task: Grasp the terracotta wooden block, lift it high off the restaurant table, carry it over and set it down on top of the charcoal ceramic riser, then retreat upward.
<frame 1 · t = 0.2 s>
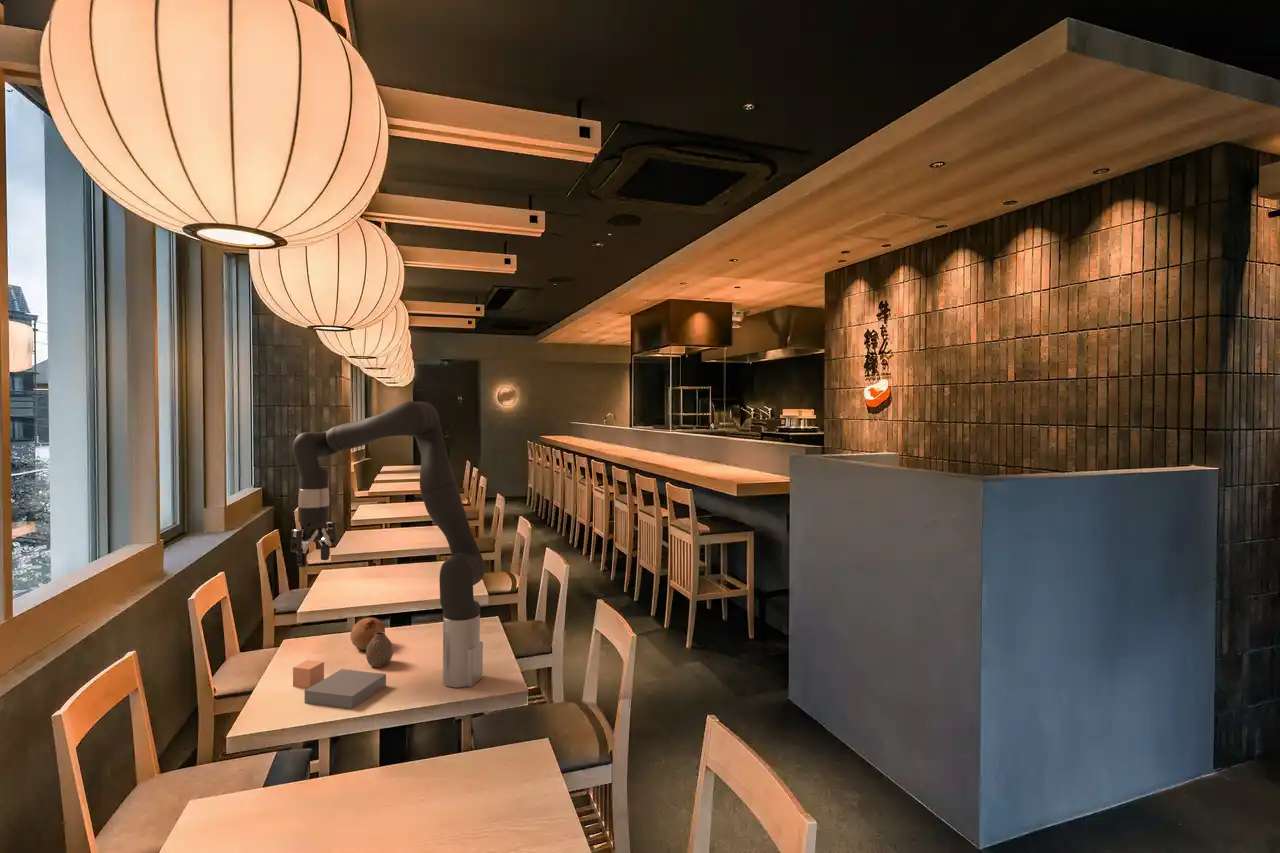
hand: (313, 563, 170), 28 cm above the table, fingers open, 8 cm apart
vase: (379, 665, 172), on the table
block: (308, 683, 159), on the table
riser: (346, 694, 153), on the table
brown round piece: (367, 648, 184), on the table
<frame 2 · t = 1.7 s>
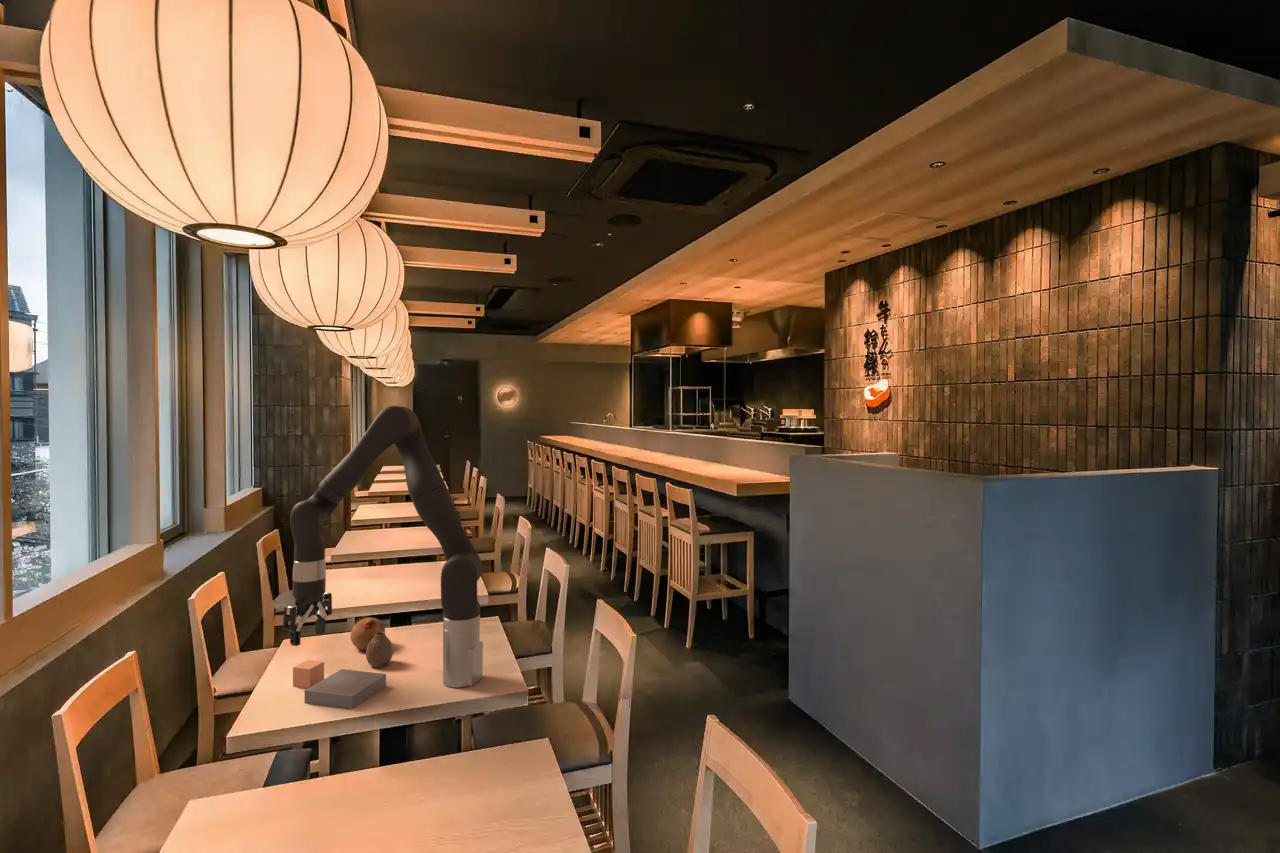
hand: (308, 639, 159), 11 cm above the table, fingers open, 8 cm apart
nothing on the table moved.
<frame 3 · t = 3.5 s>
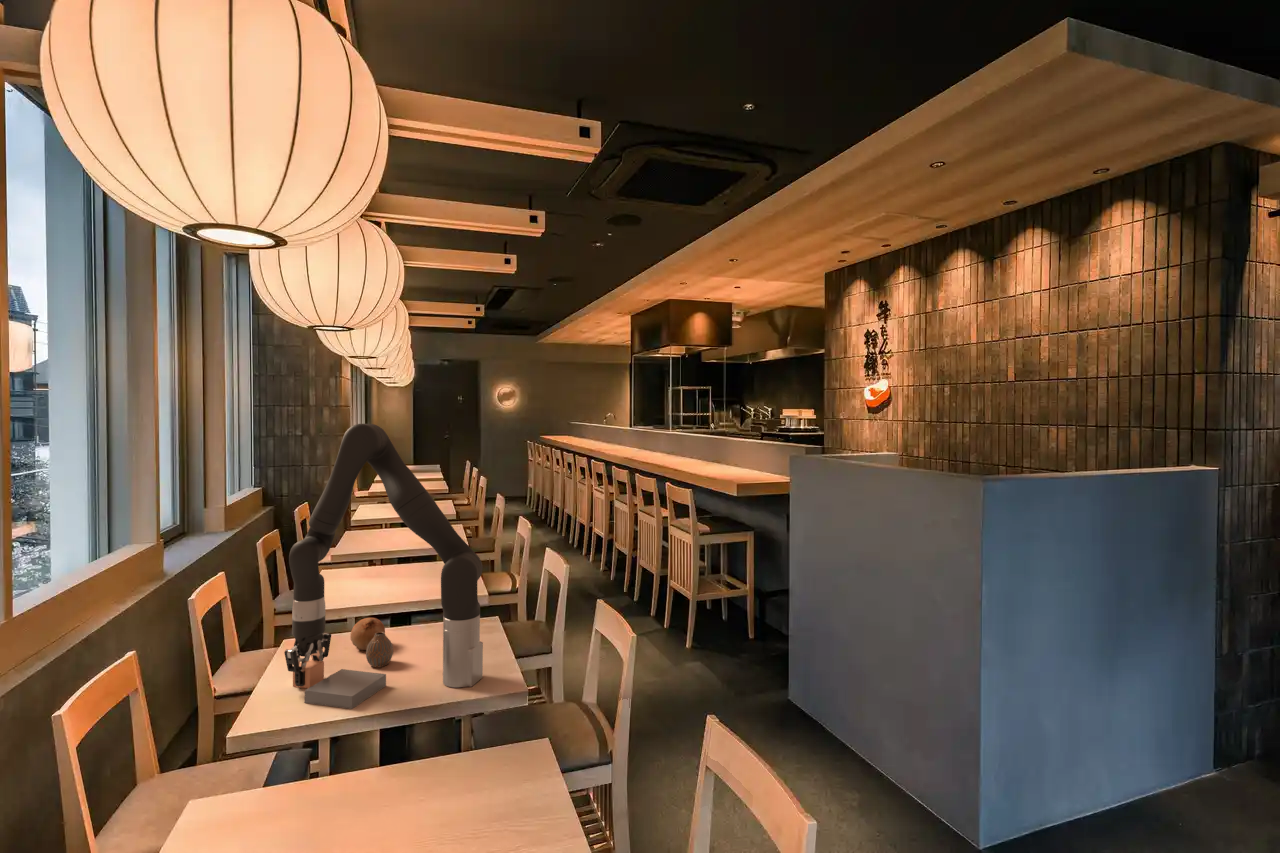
hand: (308, 680, 159), 1 cm above the table, fingers closed on block, 5 cm apart
block: (308, 683, 159), on the table, touching gripper
everything else where it was.
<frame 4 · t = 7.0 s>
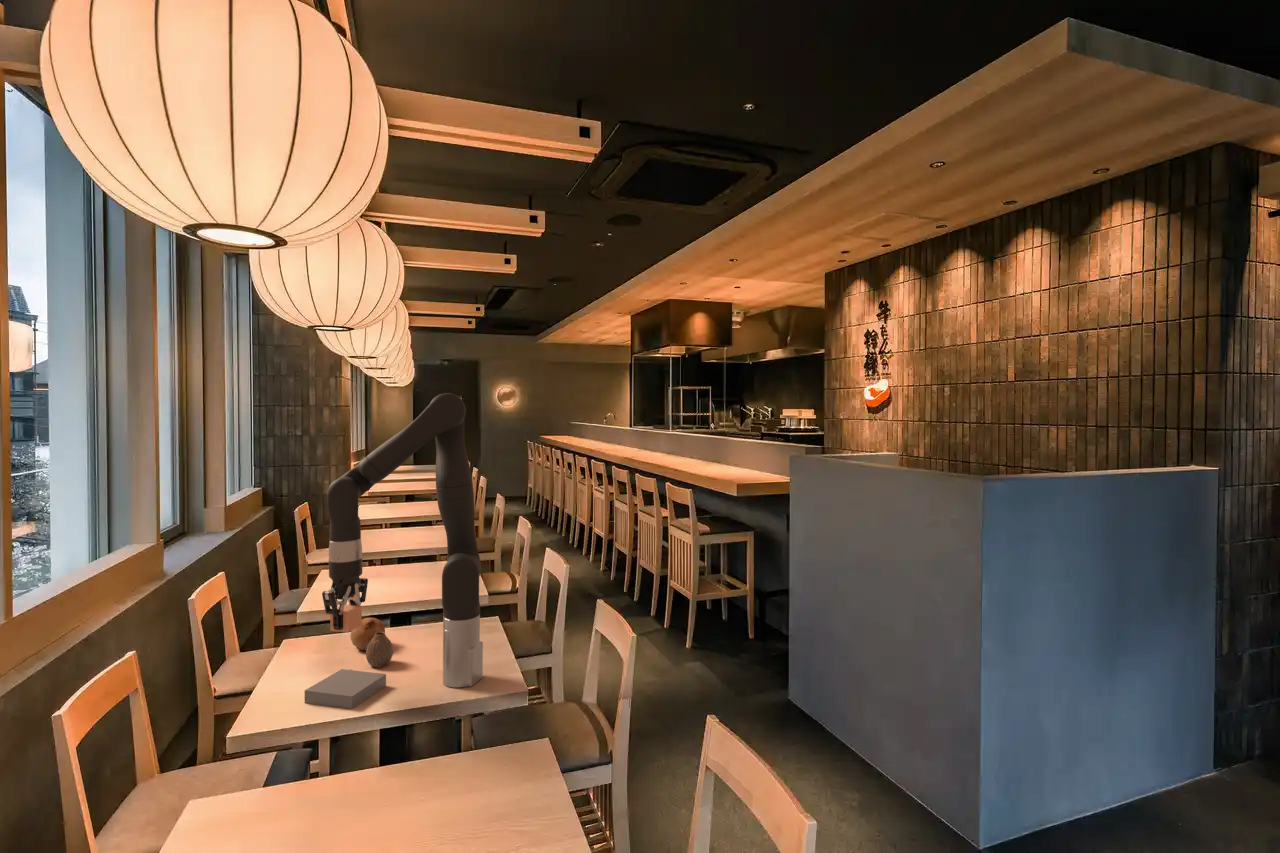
hand: (346, 625, 153), 17 cm above the table, fingers closed on block, 5 cm apart
block: (346, 628, 153), point 16 cm above the table, touching gripper
everything else where it was.
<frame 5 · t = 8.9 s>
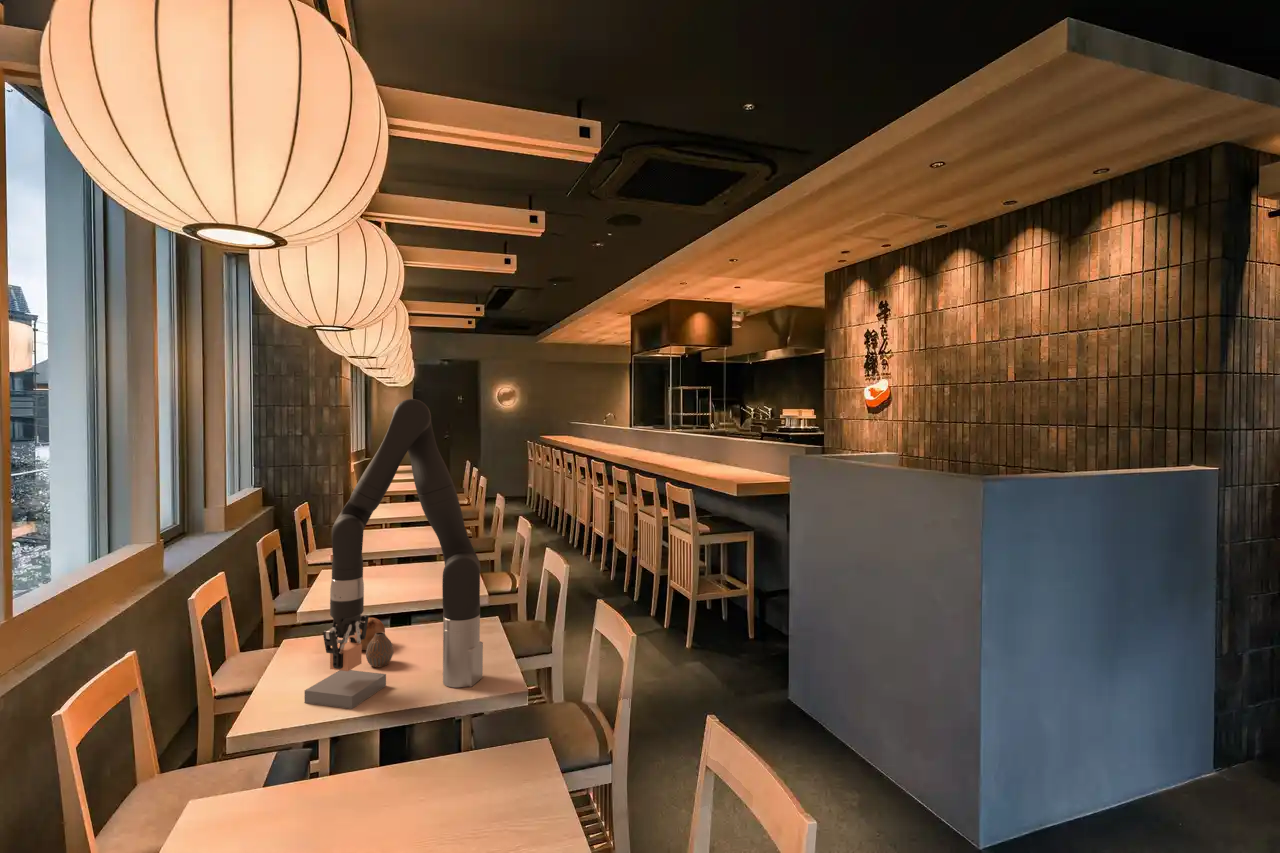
hand: (346, 663, 153), 8 cm above the table, fingers closed on block, 5 cm apart
block: (345, 666, 153), point 7 cm above the table, touching gripper
everything else where it was.
when the fingers open (5 cm above the table, at t = 10.3 s): block drops 1 cm, resting on riser.
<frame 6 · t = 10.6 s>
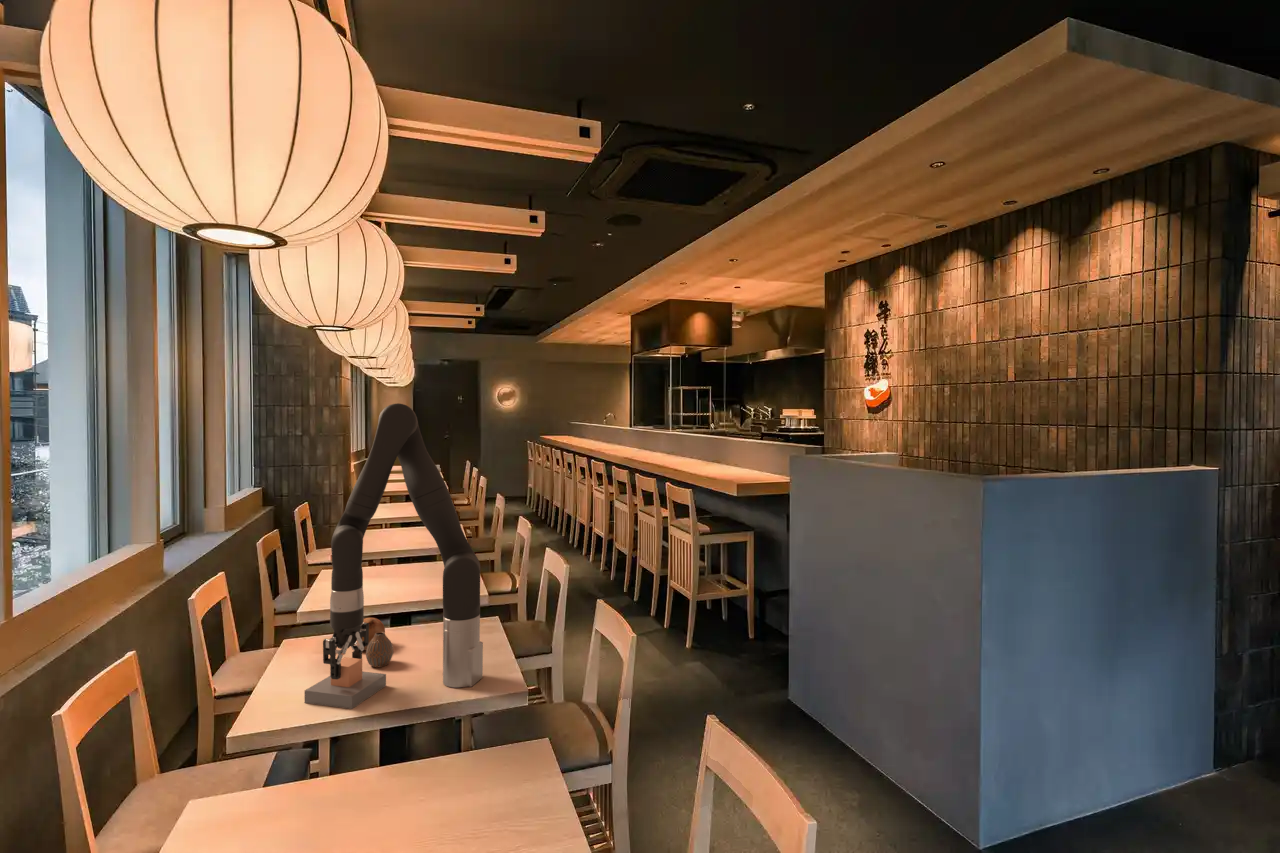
hand: (346, 672, 153), 5 cm above the table, fingers open, 7 cm apart
block: (346, 681, 153), point 3 cm above the table, touching riser
everything else where it was.
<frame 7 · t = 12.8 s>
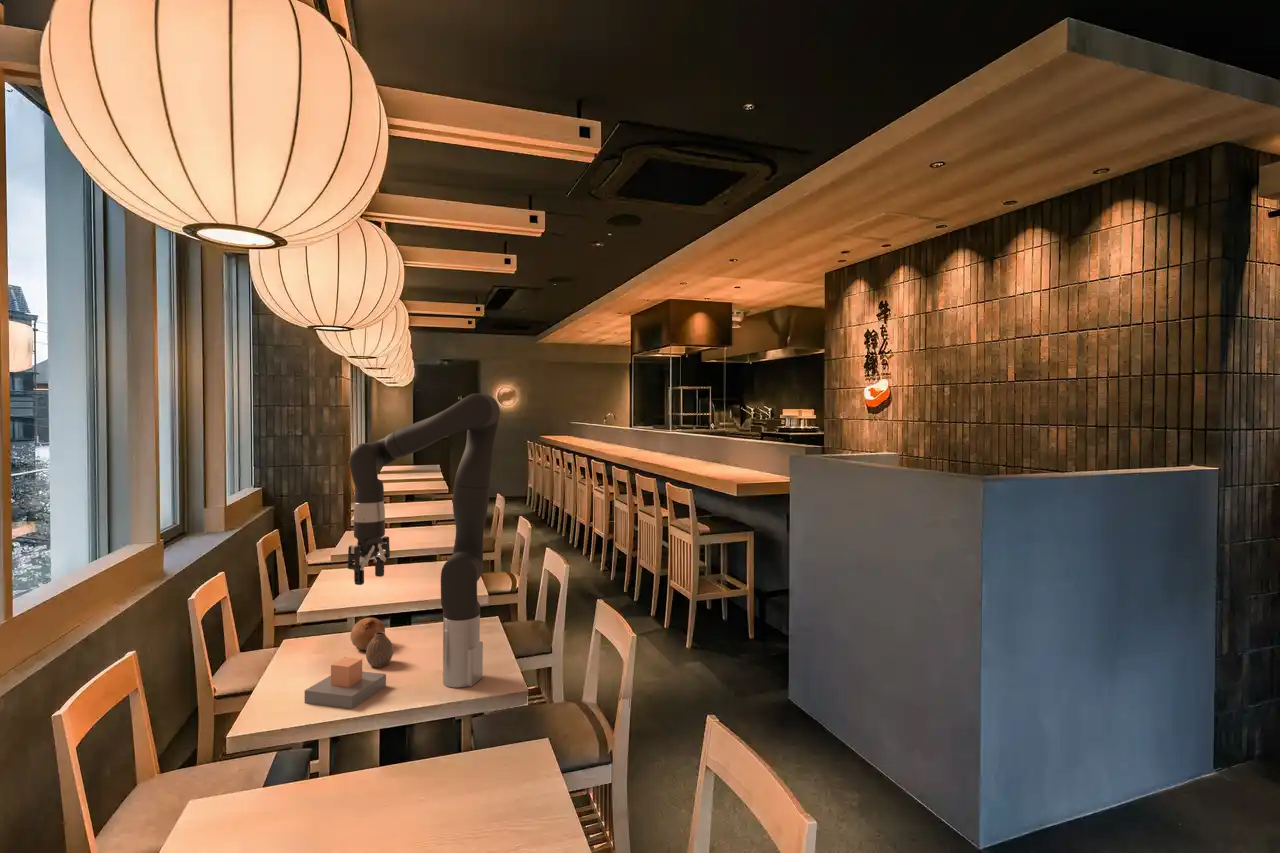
hand: (369, 580, 162), 26 cm above the table, fingers open, 8 cm apart
nothing on the table moved.
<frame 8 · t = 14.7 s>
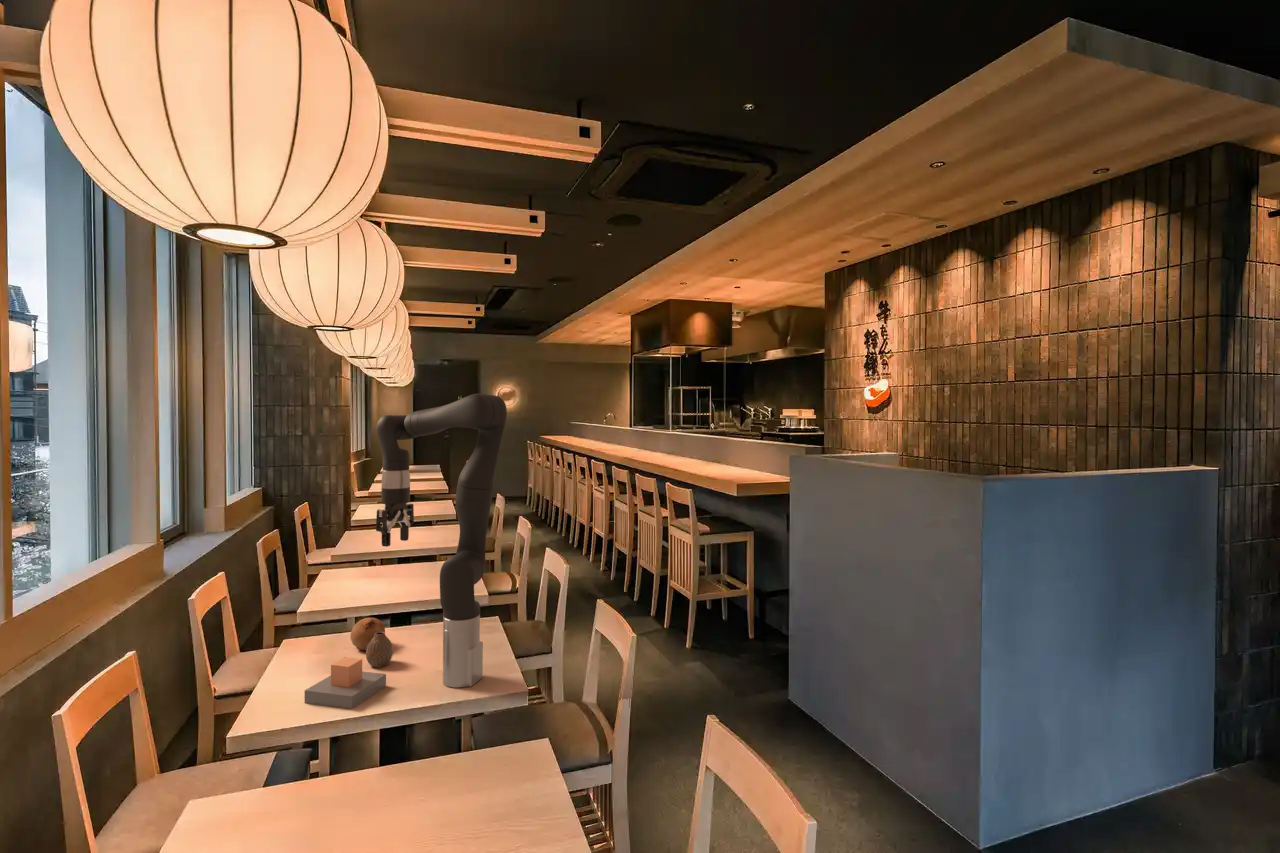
hand: (395, 543, 175), 33 cm above the table, fingers open, 8 cm apart
nothing on the table moved.
at the end: block inside the target area on the riser (0.0 cm from its centre), point 3.0 cm above the riser's base; block tilted 0°; the gripper is holding nothing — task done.
